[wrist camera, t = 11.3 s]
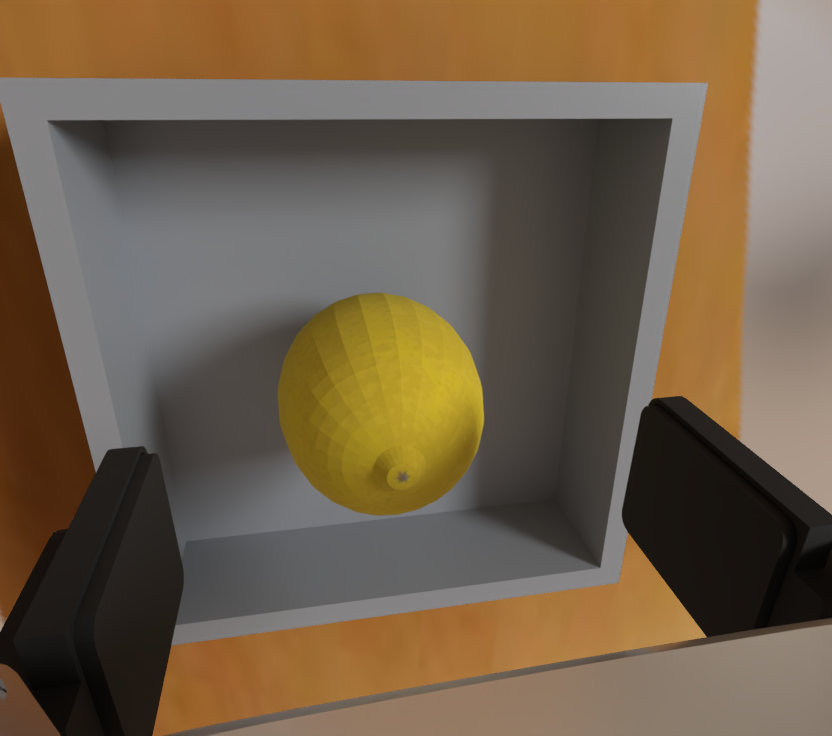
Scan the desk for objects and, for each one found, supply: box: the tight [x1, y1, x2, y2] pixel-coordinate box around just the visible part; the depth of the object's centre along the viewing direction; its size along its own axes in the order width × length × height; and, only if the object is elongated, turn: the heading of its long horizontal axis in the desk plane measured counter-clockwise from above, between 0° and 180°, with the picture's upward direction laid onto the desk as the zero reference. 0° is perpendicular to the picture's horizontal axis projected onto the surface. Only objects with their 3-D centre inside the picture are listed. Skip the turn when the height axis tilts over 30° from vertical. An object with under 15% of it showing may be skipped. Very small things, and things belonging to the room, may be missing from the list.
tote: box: [0, 78, 708, 645], centre depth 19 cm, size 16×16×5 cm
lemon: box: [278, 292, 484, 516], centre depth 16 cm, size 6×6×8 cm
